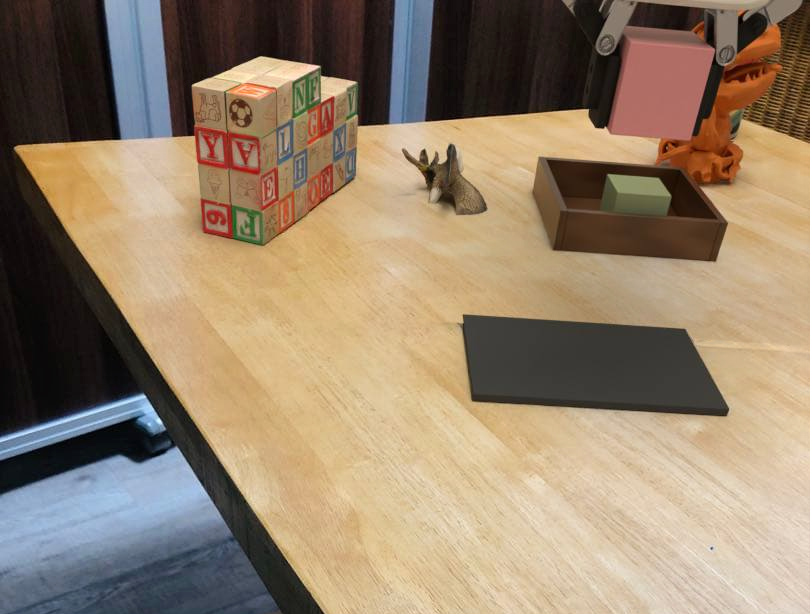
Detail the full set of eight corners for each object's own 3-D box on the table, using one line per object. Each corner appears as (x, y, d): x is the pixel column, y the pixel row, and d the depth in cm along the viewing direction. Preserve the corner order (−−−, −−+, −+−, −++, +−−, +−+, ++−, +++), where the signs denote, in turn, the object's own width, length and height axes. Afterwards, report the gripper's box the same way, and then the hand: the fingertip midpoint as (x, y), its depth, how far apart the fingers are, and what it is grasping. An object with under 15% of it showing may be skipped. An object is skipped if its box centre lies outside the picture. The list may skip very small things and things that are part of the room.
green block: (645, 230, 85) (659, 177, 82) (657, 250, 81) (671, 196, 78) (595, 226, 85) (607, 173, 82) (605, 246, 81) (617, 192, 78)
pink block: (670, 118, 57) (693, 31, 53) (690, 141, 53) (715, 49, 50) (595, 112, 56) (613, 24, 53) (610, 134, 52) (630, 41, 49)
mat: (683, 335, 69) (685, 328, 69) (727, 416, 60) (730, 408, 60) (461, 320, 68) (462, 313, 68) (472, 401, 59) (473, 393, 59)
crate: (673, 208, 92) (684, 167, 90) (714, 267, 81) (728, 222, 78) (531, 197, 91) (538, 156, 89) (551, 256, 80) (560, 210, 77)
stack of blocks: (303, 166, 93) (303, 37, 85) (357, 177, 92) (361, 47, 84) (201, 232, 78) (189, 82, 70) (264, 246, 76) (259, 95, 68)
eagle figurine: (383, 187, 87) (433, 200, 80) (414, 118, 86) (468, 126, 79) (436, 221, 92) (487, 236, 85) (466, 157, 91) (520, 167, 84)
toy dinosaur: (742, 202, 95) (803, 15, 84) (643, 184, 97) (690, -1, 86) (745, 173, 103) (801, -1, 92) (654, 157, 106) (698, -15, 94)
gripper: (578, -291, 39) (514, 133, 51) (937, -251, 40) (793, 156, 52) (555, -279, 45) (502, 99, 57) (870, -245, 46) (754, 121, 58)
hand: (642, 123), depth 54 cm, fingers closed on pink block, 5 cm apart
